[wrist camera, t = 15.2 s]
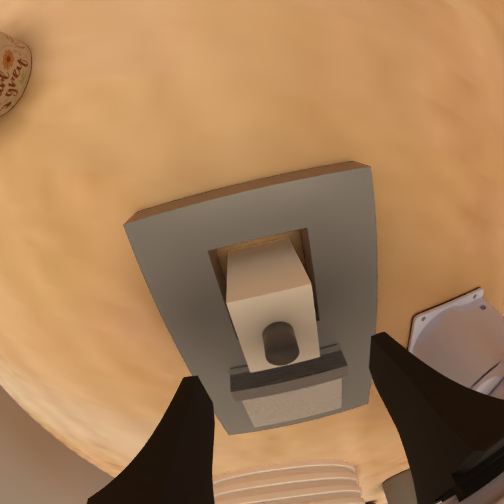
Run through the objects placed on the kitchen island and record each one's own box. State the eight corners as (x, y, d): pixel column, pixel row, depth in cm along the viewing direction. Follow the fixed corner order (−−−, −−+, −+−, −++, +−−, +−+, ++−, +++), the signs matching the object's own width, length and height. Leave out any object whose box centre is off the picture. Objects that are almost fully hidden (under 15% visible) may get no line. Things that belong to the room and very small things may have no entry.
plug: (288, 236, 18) (319, 301, 11) (299, 299, 20) (326, 376, 14) (227, 250, 18) (226, 323, 12) (245, 311, 20) (252, 392, 14)
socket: (353, 161, 16) (370, 166, 14) (360, 385, 25) (368, 403, 23) (136, 212, 17) (123, 224, 15) (228, 415, 26) (228, 435, 24)
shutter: (338, 344, 19) (348, 365, 17) (339, 402, 22) (346, 421, 20) (230, 369, 19) (230, 392, 17) (253, 422, 23) (255, 441, 21)
